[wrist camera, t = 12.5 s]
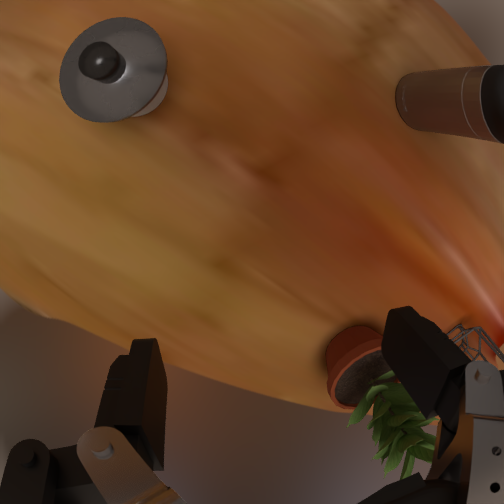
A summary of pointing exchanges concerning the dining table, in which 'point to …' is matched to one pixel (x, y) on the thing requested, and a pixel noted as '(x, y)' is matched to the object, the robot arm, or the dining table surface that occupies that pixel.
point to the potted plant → (377, 398)
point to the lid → (113, 70)
